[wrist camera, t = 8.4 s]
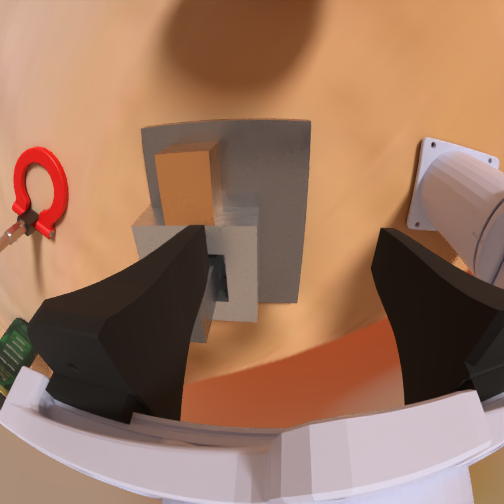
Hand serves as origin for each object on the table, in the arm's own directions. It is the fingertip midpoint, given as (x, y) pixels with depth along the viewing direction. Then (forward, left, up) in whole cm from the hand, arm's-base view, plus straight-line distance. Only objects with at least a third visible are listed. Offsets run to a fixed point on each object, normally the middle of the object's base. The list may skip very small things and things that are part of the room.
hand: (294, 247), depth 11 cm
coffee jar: (+46, +27, -11) cm, 55 cm away
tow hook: (+24, 0, -11) cm, 27 cm away
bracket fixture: (+4, +4, -10) cm, 12 cm away
